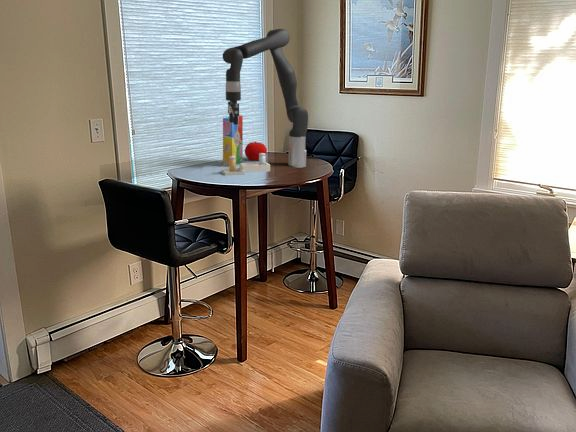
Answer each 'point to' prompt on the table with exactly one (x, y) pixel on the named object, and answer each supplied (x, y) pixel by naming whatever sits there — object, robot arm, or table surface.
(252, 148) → the tomato
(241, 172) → the parts tray
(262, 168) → the fuse block
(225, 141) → the game box
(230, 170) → the fuse
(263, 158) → the cylinder
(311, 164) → the table surface
